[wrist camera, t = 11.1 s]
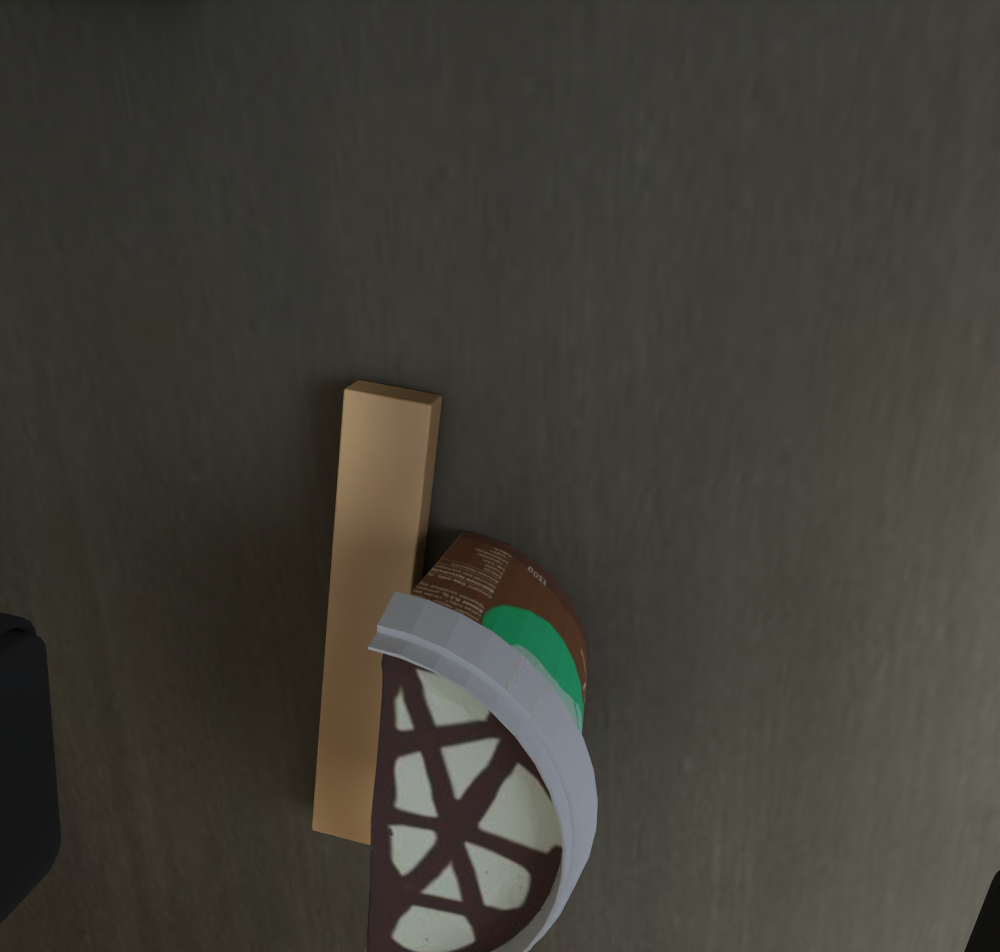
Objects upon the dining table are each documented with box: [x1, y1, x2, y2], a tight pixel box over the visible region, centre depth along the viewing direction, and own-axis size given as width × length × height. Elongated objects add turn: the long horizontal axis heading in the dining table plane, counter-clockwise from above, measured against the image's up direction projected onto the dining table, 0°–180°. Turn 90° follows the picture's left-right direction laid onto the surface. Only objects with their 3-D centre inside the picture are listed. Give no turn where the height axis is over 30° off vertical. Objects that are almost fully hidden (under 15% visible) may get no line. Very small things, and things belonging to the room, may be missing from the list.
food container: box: [364, 531, 598, 952], centre depth 29 cm, size 12×6×10 cm, turn 175°
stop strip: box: [312, 380, 442, 845], centre depth 34 cm, size 3×18×1 cm, turn 173°
